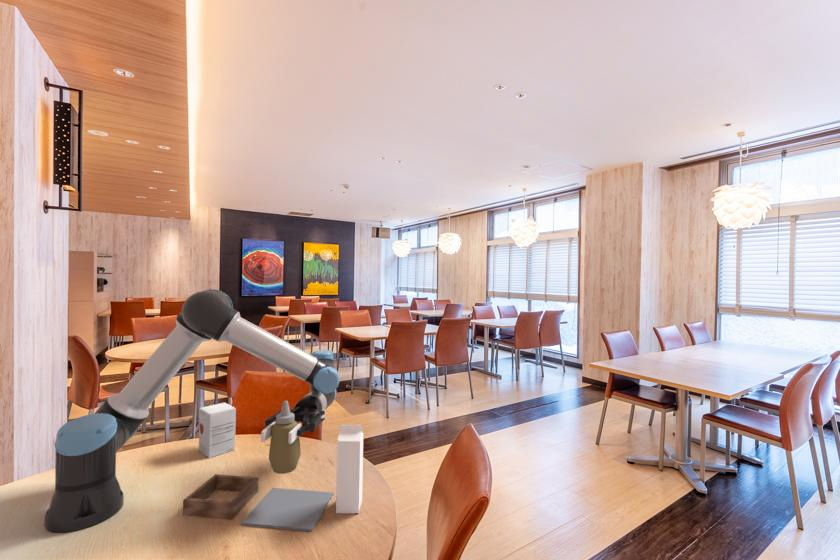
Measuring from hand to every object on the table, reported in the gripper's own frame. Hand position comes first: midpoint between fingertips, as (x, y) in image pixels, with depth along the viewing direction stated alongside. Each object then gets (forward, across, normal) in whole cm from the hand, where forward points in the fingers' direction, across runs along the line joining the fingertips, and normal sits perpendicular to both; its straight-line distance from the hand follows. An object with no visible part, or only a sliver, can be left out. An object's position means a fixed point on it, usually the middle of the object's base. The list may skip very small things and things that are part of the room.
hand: (276, 437), depth 98 cm
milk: (-7, -17, -21) cm, 28 cm away
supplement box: (-34, +38, -21) cm, 55 cm away
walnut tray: (-5, +17, -20) cm, 27 cm away
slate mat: (-4, -2, -20) cm, 21 cm away
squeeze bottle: (-5, 0, -11) cm, 12 cm away
